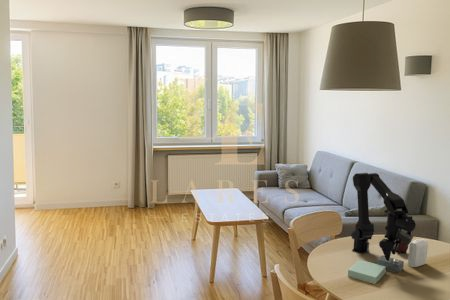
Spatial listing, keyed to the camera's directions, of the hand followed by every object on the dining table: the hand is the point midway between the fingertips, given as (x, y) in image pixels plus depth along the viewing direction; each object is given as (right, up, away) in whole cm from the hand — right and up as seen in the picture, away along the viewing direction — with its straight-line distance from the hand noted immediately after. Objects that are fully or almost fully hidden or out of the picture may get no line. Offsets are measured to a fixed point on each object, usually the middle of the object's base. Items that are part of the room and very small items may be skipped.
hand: (390, 257), depth 201 cm
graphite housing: (0, -5, +1) cm, 5 cm away
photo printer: (+14, -5, +5) cm, 16 cm away
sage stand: (-13, -6, -7) cm, 16 cm away
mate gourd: (+12, -2, +20) cm, 24 cm away
